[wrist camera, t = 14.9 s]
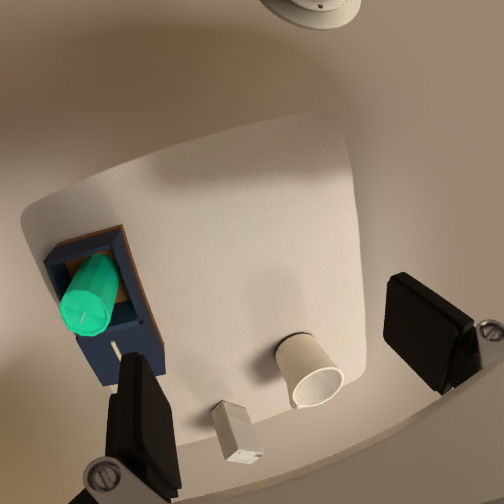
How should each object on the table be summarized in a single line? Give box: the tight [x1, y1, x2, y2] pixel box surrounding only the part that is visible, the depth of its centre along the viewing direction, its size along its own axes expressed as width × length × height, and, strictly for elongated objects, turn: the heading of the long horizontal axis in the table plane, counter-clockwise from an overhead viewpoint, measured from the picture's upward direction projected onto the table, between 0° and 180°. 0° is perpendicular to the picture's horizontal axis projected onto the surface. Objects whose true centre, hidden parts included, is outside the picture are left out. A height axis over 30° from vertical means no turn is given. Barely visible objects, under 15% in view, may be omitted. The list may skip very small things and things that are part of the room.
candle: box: [59, 253, 120, 336], centre depth 33 cm, size 6×6×12 cm
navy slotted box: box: [43, 225, 166, 386], centre depth 38 cm, size 20×10×8 cm, turn 9°
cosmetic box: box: [211, 401, 264, 464], centre depth 50 cm, size 6×4×12 cm
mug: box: [275, 333, 344, 410], centre depth 50 cm, size 11×9×10 cm
